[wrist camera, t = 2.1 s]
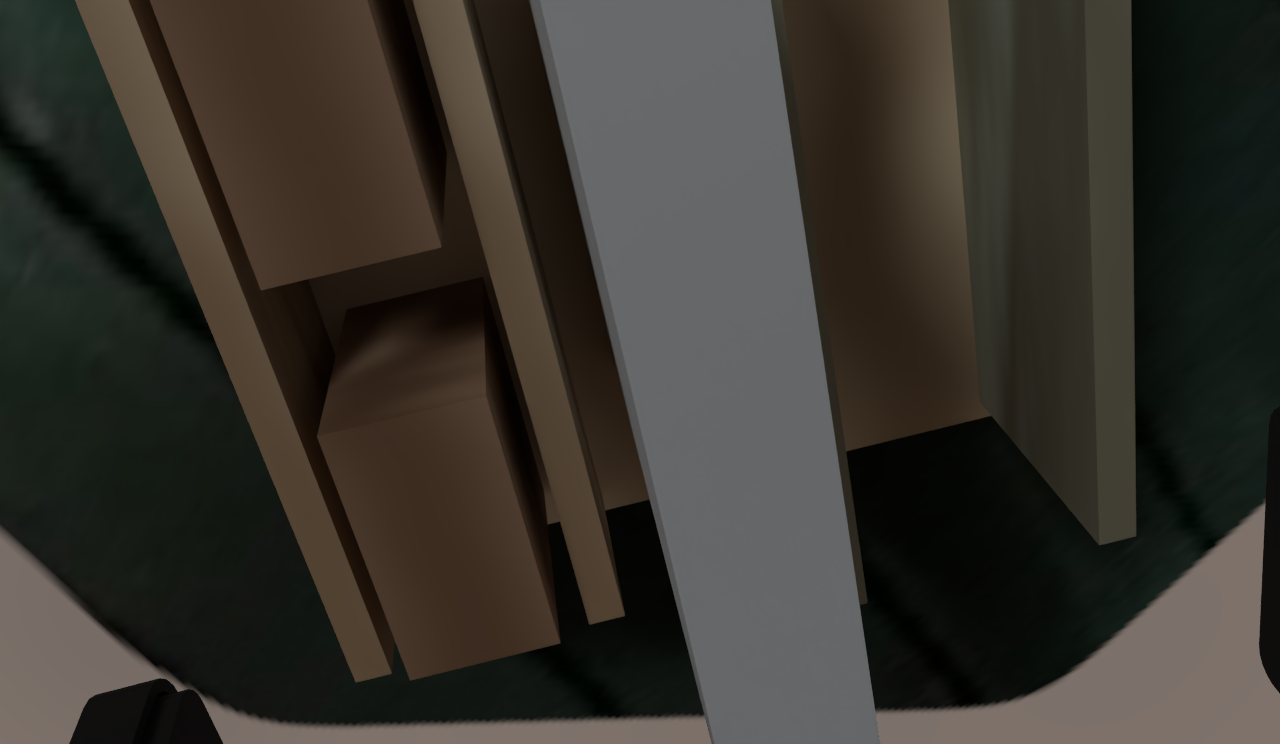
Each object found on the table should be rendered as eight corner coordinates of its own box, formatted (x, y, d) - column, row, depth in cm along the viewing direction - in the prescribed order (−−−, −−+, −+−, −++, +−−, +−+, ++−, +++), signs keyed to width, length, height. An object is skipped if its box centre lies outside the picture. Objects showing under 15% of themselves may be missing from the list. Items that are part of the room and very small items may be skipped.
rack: (968, -337, 24) (1174, -388, 17) (1013, 379, 32) (1168, 547, 25) (57, -129, 24) (-116, -93, 17) (327, 546, 32) (286, 766, 25)
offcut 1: (363, -140, 23) (331, -119, 18) (446, 152, 26) (441, 247, 21) (203, -103, 23) (122, -71, 18) (303, 186, 26) (261, 290, 20)
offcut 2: (482, 276, 27) (486, 395, 22) (544, 491, 30) (560, 642, 25) (346, 309, 27) (317, 437, 22) (420, 521, 30) (410, 680, 25)
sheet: (587, -191, 23) (747, -162, 10) (695, 345, 29) (892, 828, 15) (487, -169, 23) (514, -109, 10) (615, 364, 29) (743, 865, 15)
